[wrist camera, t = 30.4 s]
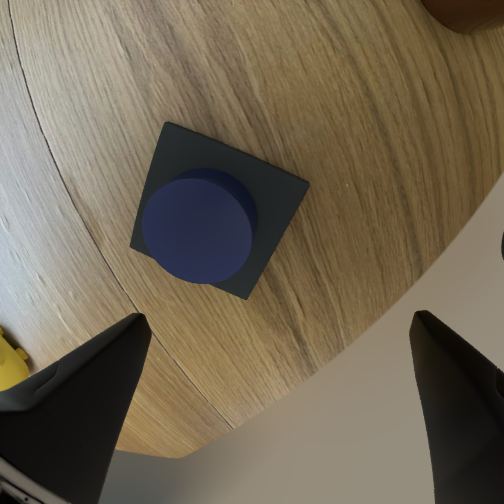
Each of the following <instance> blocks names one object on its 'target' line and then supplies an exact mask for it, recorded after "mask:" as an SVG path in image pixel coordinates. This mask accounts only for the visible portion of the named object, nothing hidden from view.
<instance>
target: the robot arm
mask: <svg viewBox="0 0 504 504" xmlns="http://www.w3.org/2000/svg"><path fill="white" fill-rule="evenodd" d="M151 336H152V332H151V329H150V326H149V324H148V322H147V319H146V317H145V315H144V314H142V313H132V314H130V315H128V316H127V317H125V318H124V319H122V320H121V321H119V322H117V323H116V324H114V325H113V326H111V327H109V328H108V329H106V330H105V331H103V332H101V333H100V334H98V335H97V336H95V337H94V338H92V339H90V340H89V341H87V342H86V343H84V344H83V345H81V346H79V347H78V348H76V349H75V350H73V351H72V352H70V353H68V354H67V355H65V356H64V357H62V358H61V359H59V360H57V361H56V362H54V363H53V364H51V365H50V366H48V367H46V368H45V369H43V370H41V371H40V372H38V373H36V374H34V375H33V376H31V377H29V378H27V379H25V380H24V381H22V382H20V383H18V384H16V385H14V386H12V387H11V388H9V389H6V390H3V391H0V504H69V503H71V504H98V503H99V499H100V495H101V492H102V488H103V485H104V482H105V478H106V475H107V472H108V468H109V465H110V462H111V458H112V456H113V453H114V449H115V446H116V443H117V440H118V437H119V434H120V431H121V429H122V426H123V423H124V420H125V417H126V414H127V411H128V409H129V406H130V403H131V400H132V398H133V395H134V392H135V389H136V387H137V384H138V381H139V379H140V376H141V373H142V370H143V366H144V363H145V359H146V355H147V351H148V348H149V344H150V340H151ZM409 337H410V344H411V350H412V357H413V364H414V371H415V378H416V382H417V386H418V391H419V395H420V400H421V404H422V409H423V414H424V419H425V424H426V431H427V436H428V443H429V449H430V455H431V463H432V471H433V481H434V488H435V489H434V494H435V504H504V373H503V372H502V371H501V370H500V369H499V368H498V369H497V366H495V365H494V364H493V363H492V362H491V361H489V360H488V359H487V358H486V357H485V356H484V355H483V354H481V353H480V352H479V351H478V350H477V349H475V348H474V347H473V346H472V345H470V344H469V343H468V342H467V341H465V340H464V339H463V338H462V337H461V336H459V335H458V334H457V333H456V332H455V331H453V330H452V329H451V328H450V327H448V326H447V325H446V324H444V323H443V322H442V321H441V320H439V319H438V318H437V317H436V316H434V315H433V314H432V313H430V312H429V311H427V310H422V311H416V312H415V314H414V317H413V320H412V324H411V328H410V333H409Z"/></svg>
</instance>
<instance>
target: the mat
mask: <svg viewBox="0 0 504 504" xmlns="http://www.w3.org/2000/svg"><path fill="white" fill-rule="evenodd" d="M196 168H211V169H217V170H220V171H223V172H225V173H227V174H229V175H231V176H233V177H234V178H236V179H237V180H238V181H239V182H240V183H242V185H243V186H244V187H245V188H246V189H247V190H248V192H249V193H250V195H251V197H252V199H253V201H254V204H255V206H256V211H257V219H258V221H257V229H256V234H255V237H254V241H253V245H252V248H251V252H250V254H249V257H248V259H247V261H246V263H245V264H244V265H243V267H242V268H241V269H240V270H239V271H238V272H237V273H236V274H234V275H233V276H231V277H230V278H228V279H226V280H223V281H220V282H217V283H211V284H210V285H212V286H215V287H217V288H219V289H221V290H224V291H226V292H228V293H231V294H233V295H235V296H238V297H240V298H242V299H245V300H247V299H248V297H249V295H250V293H251V292H252V290H253V288H254V286H255V284H256V283H257V281H258V279H259V277H260V275H261V274H262V272H263V270H264V268H265V267H266V265H267V263H268V261H269V259H270V258H271V256H272V254H273V252H274V250H275V248H276V247H277V245H278V243H279V241H280V239H281V238H282V236H283V234H284V232H285V230H286V228H287V227H288V225H289V223H290V221H291V219H292V217H293V216H294V214H295V212H296V210H297V208H298V206H299V205H300V203H301V201H302V199H303V197H304V195H305V193H306V192H307V190H308V188H309V186H310V184H309V182H307V181H305V180H303V179H301V178H299V177H297V176H295V175H293V174H291V173H289V172H287V171H285V170H283V169H281V168H278V167H276V166H274V165H272V164H270V163H268V162H266V161H263V160H261V159H259V158H257V157H254V156H252V155H250V154H248V153H245V152H243V151H241V150H239V149H236V148H234V147H232V146H229V145H227V144H224V143H222V142H220V141H217V140H215V139H212V138H210V137H207V136H205V135H202V134H200V133H197V132H195V131H192V130H190V129H187V128H184V127H182V126H179V125H176V124H174V123H171V122H165V123H164V125H163V128H162V131H161V134H160V137H159V140H158V143H157V146H156V149H155V152H154V155H153V159H152V162H151V165H150V168H149V172H148V175H147V179H146V182H145V186H144V189H143V193H142V197H141V201H140V205H139V208H138V212H137V216H136V221H135V225H134V229H133V234H132V238H131V243H130V247H131V248H133V249H135V250H137V251H139V252H141V253H143V254H145V255H147V256H149V257H151V258H153V256H152V255H151V253H150V251H149V249H148V247H147V245H146V243H145V240H144V236H143V229H142V220H143V214H144V210H145V207H146V205H147V203H148V201H149V200H150V198H151V197H152V195H153V194H154V193H155V192H156V191H157V190H158V189H160V188H161V187H162V186H163V185H165V184H166V183H168V182H169V181H171V180H172V179H173V178H175V177H176V176H178V175H180V174H181V173H183V172H185V171H188V170H191V169H196ZM153 259H154V258H153Z"/></svg>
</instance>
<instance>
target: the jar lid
mask: <svg viewBox="0 0 504 504" xmlns="http://www.w3.org/2000/svg"><path fill="white" fill-rule="evenodd" d="M257 221H258V219H257V211H256V206H255V204H254V201H253V199H252V197H251V195H250V193H249V192H248V190H247V189H246V188H245V187H244V186H243V185H242V183H240V182H239V181H238V180H237V179H236V178H234V177H233V176H231V175H229V174H227V173H225V172H223V171H220V170H217V169H211V168H196V169H191V170H188V171H185V172H183V173H181V174H180V175H178V176H176V177H175V178H173V179H172V180H171V181H169V182H168V183H166V184H165V185H163V186H162V187H161V188H160V189H158V190H157V191H156V192H155V193H154V194H153V195H152V197H151V198H150V200H149V201H148V203H147V205H146V207H145V210H144V214H143V220H142V229H143V236H144V240H145V243H146V245H147V247H148V249H149V251H150V253H151V255H152V256H153V258H154V259H155V260H156V261H157V263H158V264H159V265H160V266H161V267H162V268H164V269H165V270H166V271H167V272H169V273H170V274H172V275H173V276H175V277H177V278H179V279H182V280H184V281H187V282H191V283H197V284H211V283H217V282H220V281H223V280H226V279H228V278H230V277H231V276H233V275H234V274H236V273H237V272H238V271H239V270H240V269H241V268H242V267H243V265H244V264H245V263H246V261H247V259H248V257H249V254H250V252H251V248H252V245H253V241H254V237H255V234H256V229H257Z"/></svg>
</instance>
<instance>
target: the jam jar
mask: <svg viewBox="0 0 504 504" xmlns="http://www.w3.org/2000/svg"><path fill="white" fill-rule="evenodd" d="M421 1H422V3H423V4H424V6H425V7H426V8H427V10H428V11H429V12H430V13H431V14H432V15H433V16H434V17H435V18H436V19H437V20H438V21H439V22H441V23H442V24H443V25H445V26H446V27H448V28H449V29H451V30H453V31H455V32H458V33H461V34H467V35H470V34H475V33H479V32H484V31H488V30H492V29H497V28H502V27H504V0H421Z"/></svg>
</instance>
